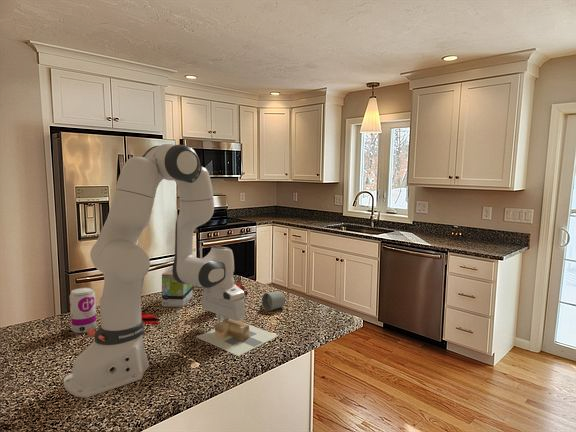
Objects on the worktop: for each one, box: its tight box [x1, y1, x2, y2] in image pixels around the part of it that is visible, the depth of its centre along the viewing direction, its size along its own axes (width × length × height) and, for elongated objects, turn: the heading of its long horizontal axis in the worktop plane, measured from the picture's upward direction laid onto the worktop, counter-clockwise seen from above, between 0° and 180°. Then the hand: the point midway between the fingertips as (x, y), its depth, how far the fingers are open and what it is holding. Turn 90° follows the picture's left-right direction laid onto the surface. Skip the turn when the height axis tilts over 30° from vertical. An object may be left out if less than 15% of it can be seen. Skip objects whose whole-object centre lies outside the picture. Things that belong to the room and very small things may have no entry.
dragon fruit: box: [234, 281, 248, 299], centre depth 176 cm, size 8×8×12 cm
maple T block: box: [214, 317, 250, 341], centre depth 135 cm, size 11×10×4 cm
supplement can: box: [68, 287, 97, 334], centre depth 139 cm, size 8×8×15 cm
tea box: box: [161, 266, 194, 308], centre depth 171 cm, size 15×10×15 cm
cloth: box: [141, 311, 161, 325], centre depth 153 cm, size 26×14×2 cm, turn 39°
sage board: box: [195, 322, 280, 357], centre depth 134 cm, size 20×22×1 cm
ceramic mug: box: [261, 290, 286, 312], centre depth 164 cm, size 11×8×8 cm
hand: (222, 325), depth 139 cm, fingers closed
